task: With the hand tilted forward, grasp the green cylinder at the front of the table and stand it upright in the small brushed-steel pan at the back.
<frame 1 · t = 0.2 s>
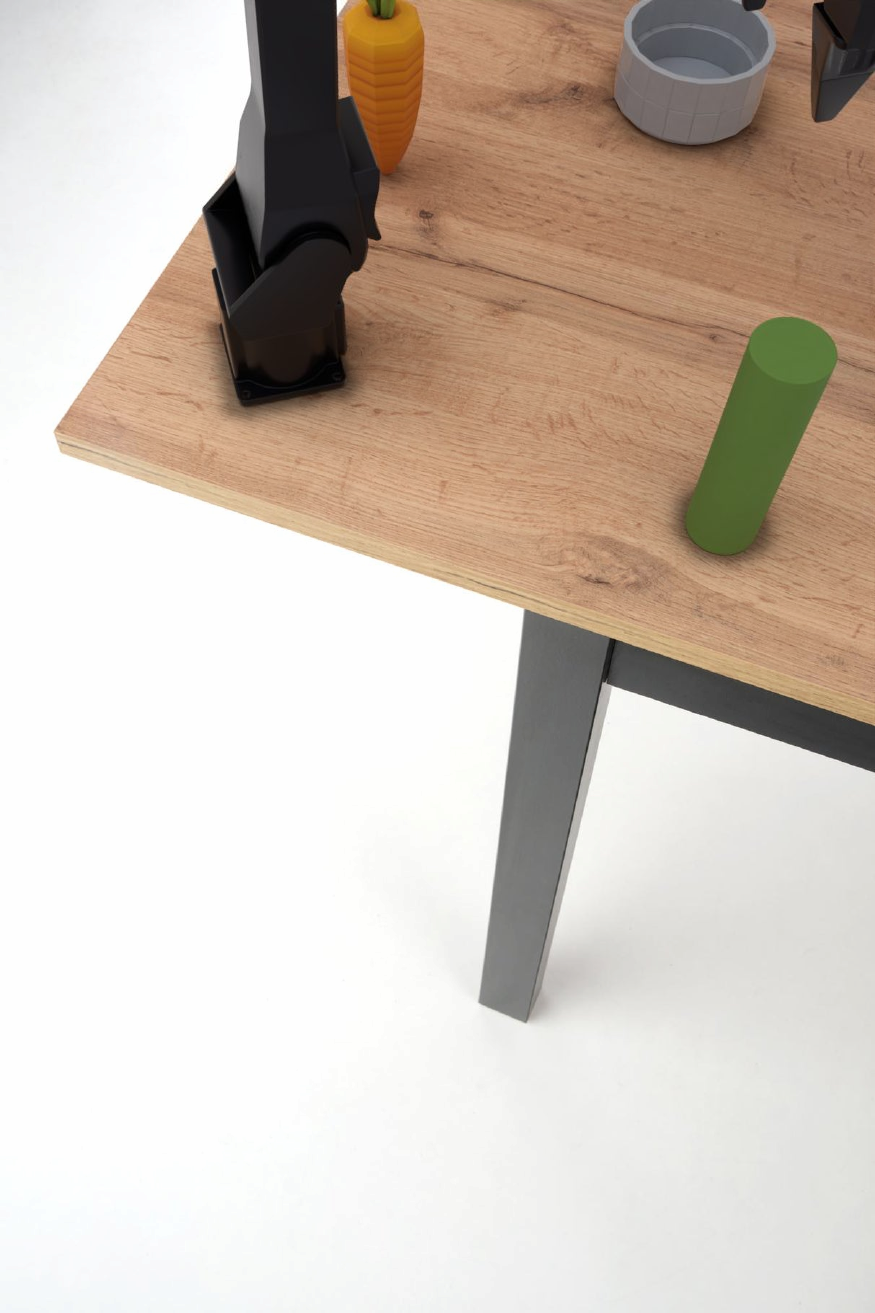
hand: (786, 62, 61), 15 cm above the table, tool pointing down, fingers open, 9 cm apart
green cylinder: (720, 524, 65), on the table
carrot: (386, 175, 78), on the table
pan: (684, 100, 82), on the table
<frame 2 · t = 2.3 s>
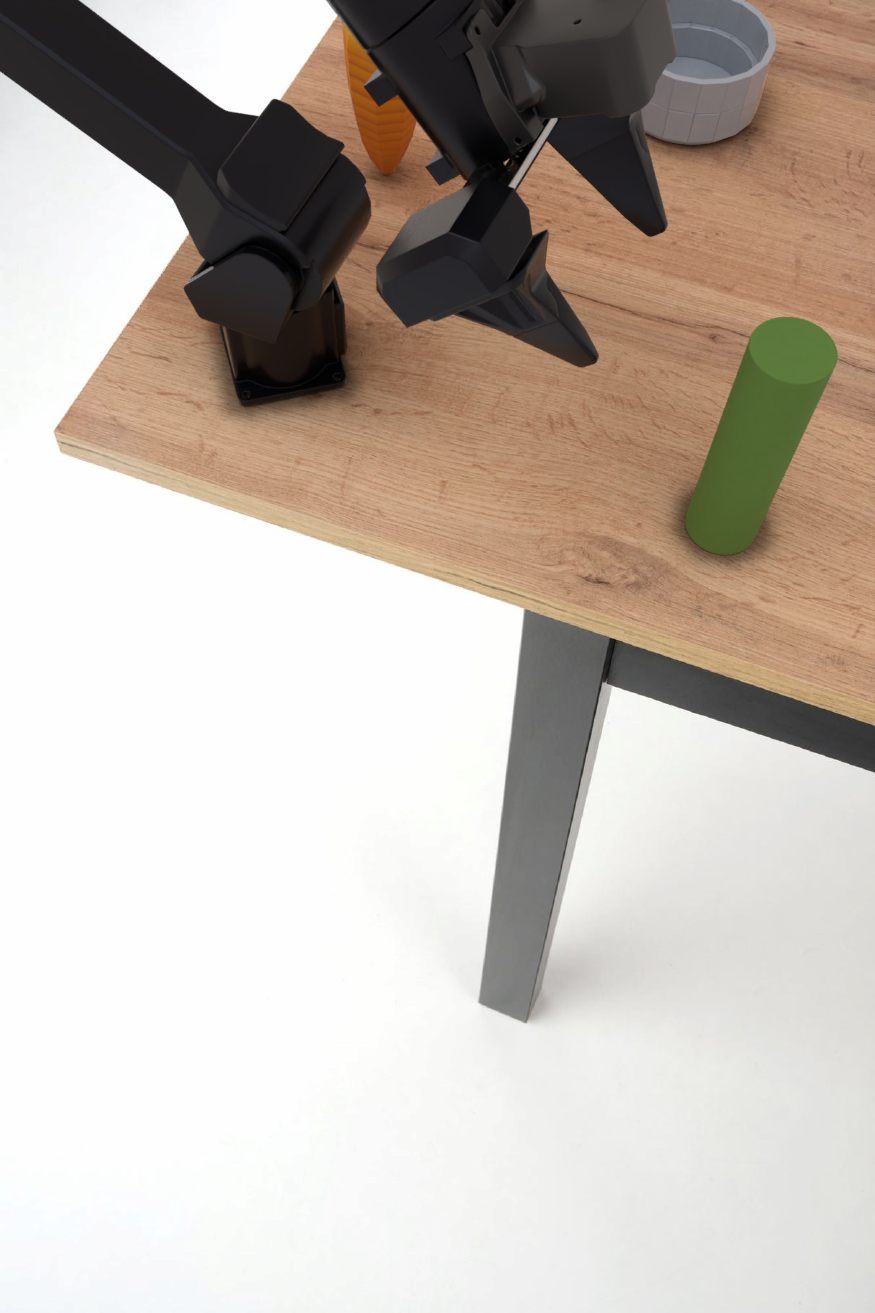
hand: (626, 295, 55), 13 cm above the table, tool tilted 45°, fingers open, 9 cm apart
nothing on the table moved.
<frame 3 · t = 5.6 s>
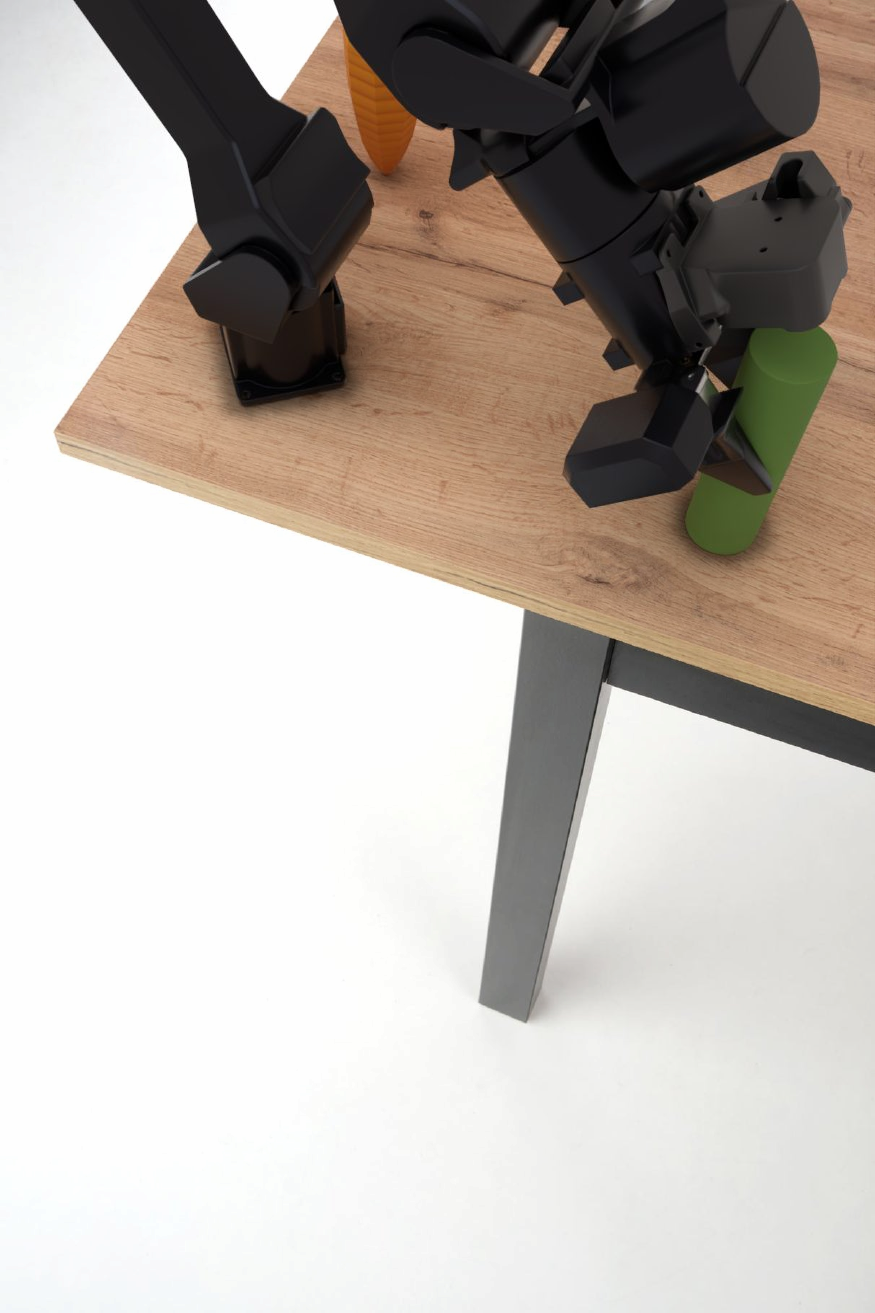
hand: (777, 461, 59), 7 cm above the table, tool tilted 45°, fingers closed on green cylinder, 4 cm apart
green cylinder: (720, 524, 65), on the table, touching gripper
everything else where it was.
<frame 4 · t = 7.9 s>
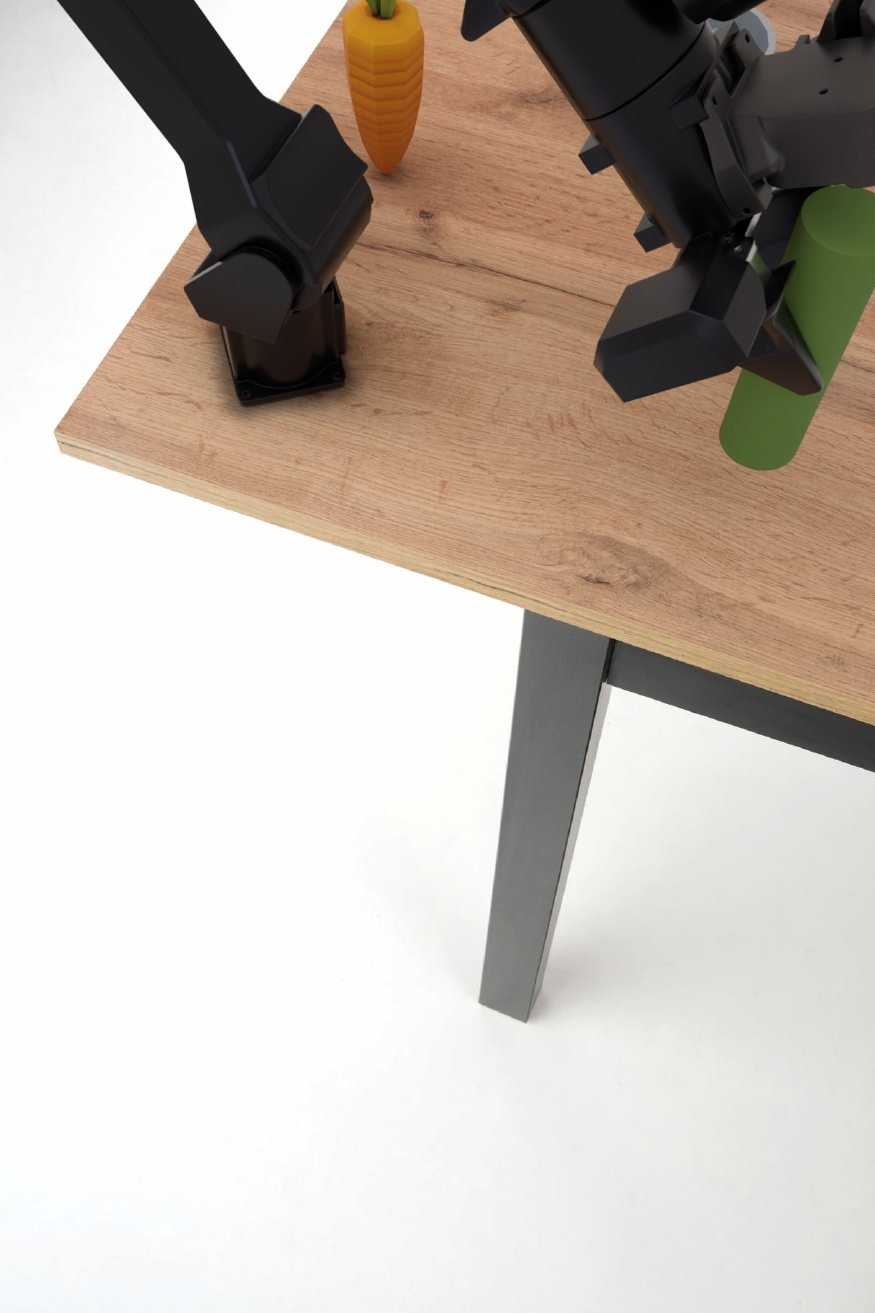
hand: (826, 358, 53), 14 cm above the table, tool tilted 45°, fingers closed on green cylinder, 4 cm apart
green cylinder: (758, 439, 59), point 7 cm above the table, touching gripper
everything else where it was.
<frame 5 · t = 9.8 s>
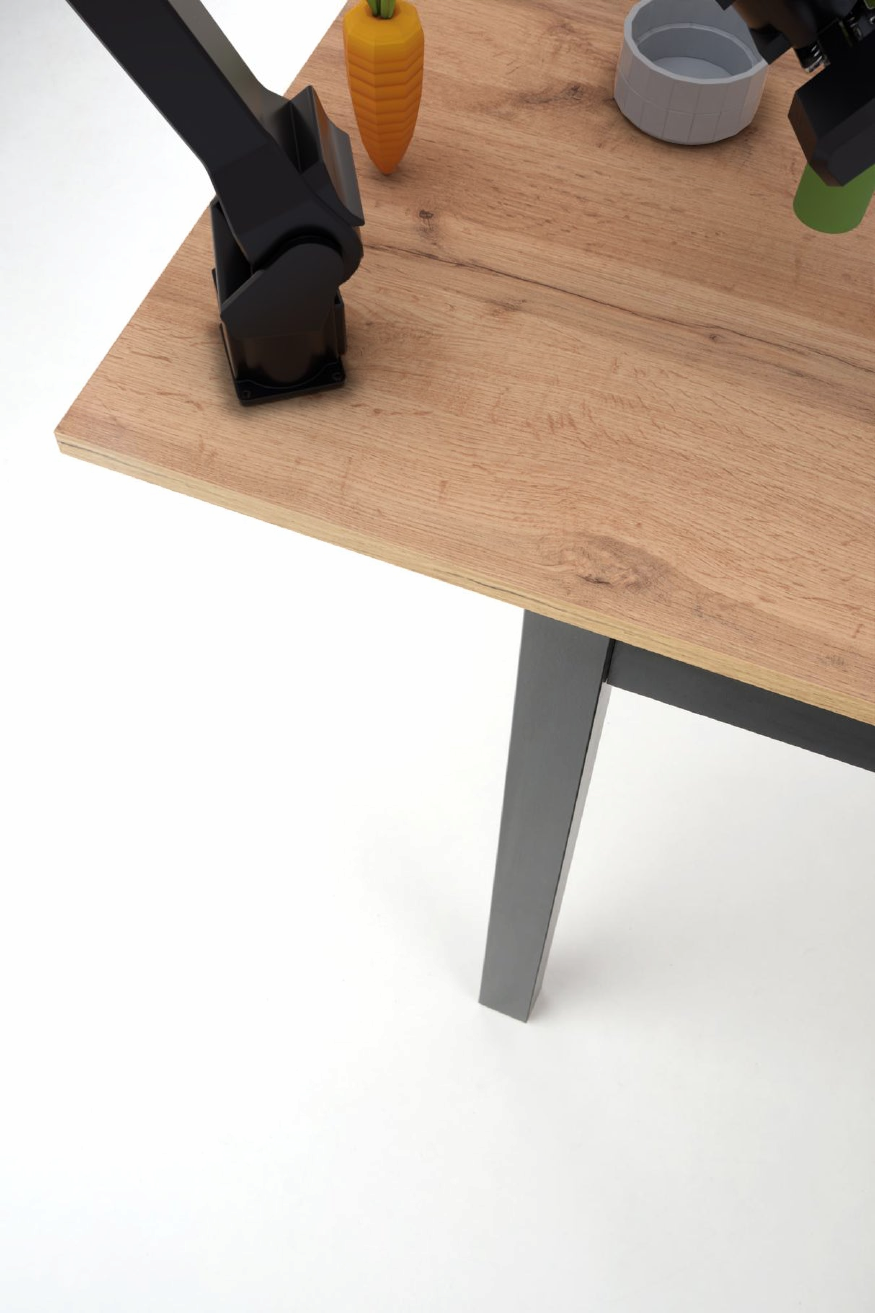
green cylinder: (827, 209, 66), point 7 cm above the table, touching gripper
everything else where it was.
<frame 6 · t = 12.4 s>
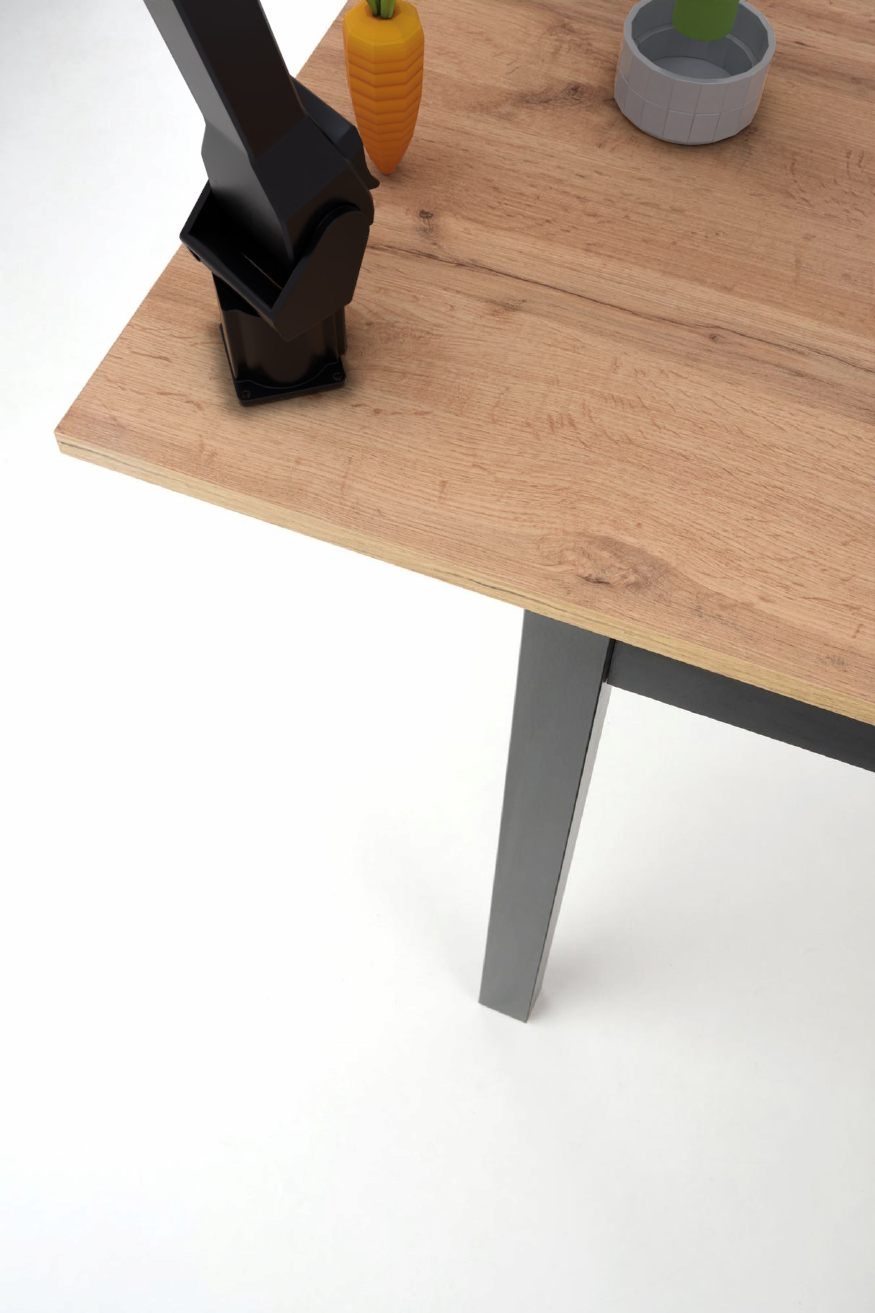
green cylinder: (702, 21, 77), point 6 cm above the table, touching gripper
everything else where it was.
when the fingers open (7 cm above the table, at t = 14.3 s): green cylinder stays where it is, resting on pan.
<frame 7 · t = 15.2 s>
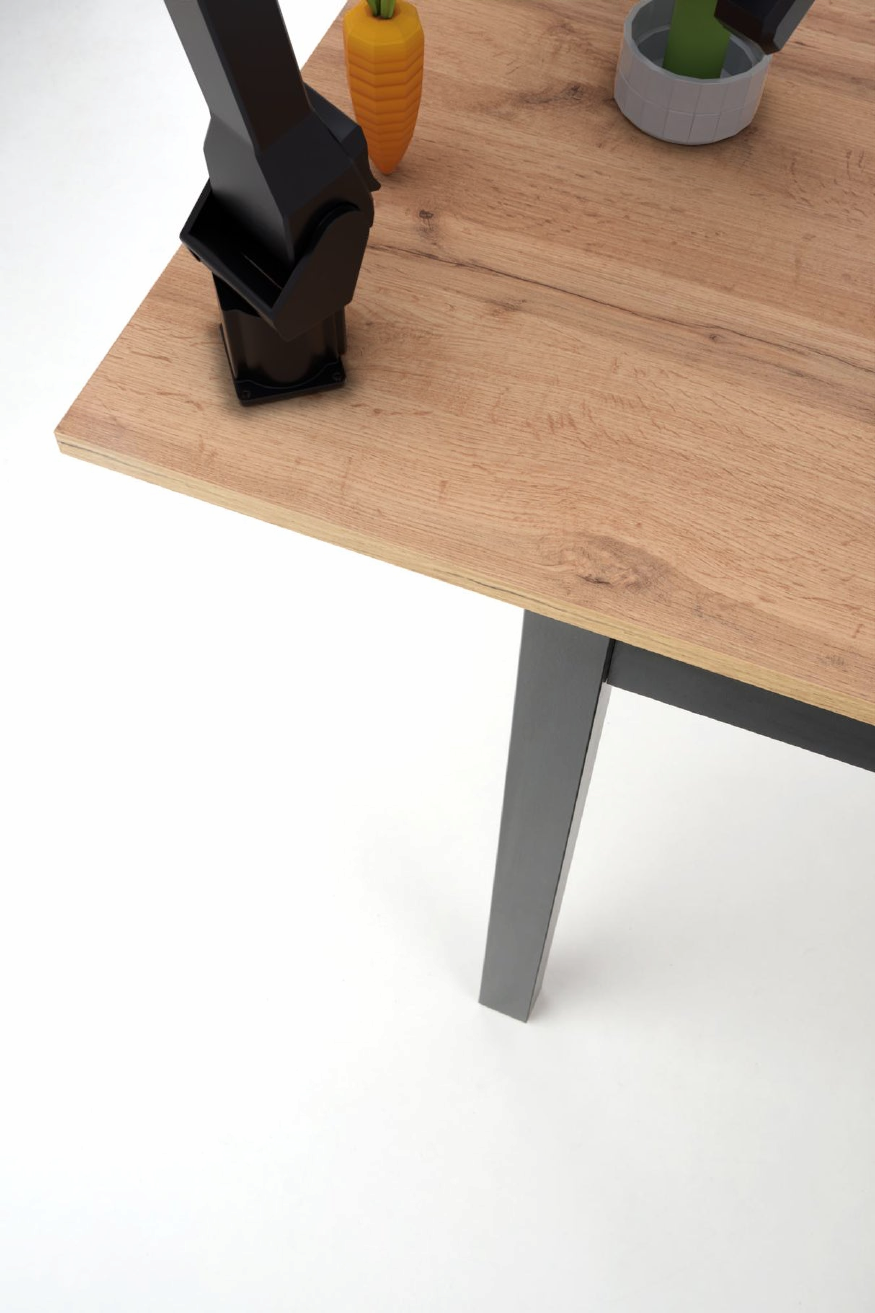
green cylinder: (685, 94, 81), resting on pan
everything else where it was.
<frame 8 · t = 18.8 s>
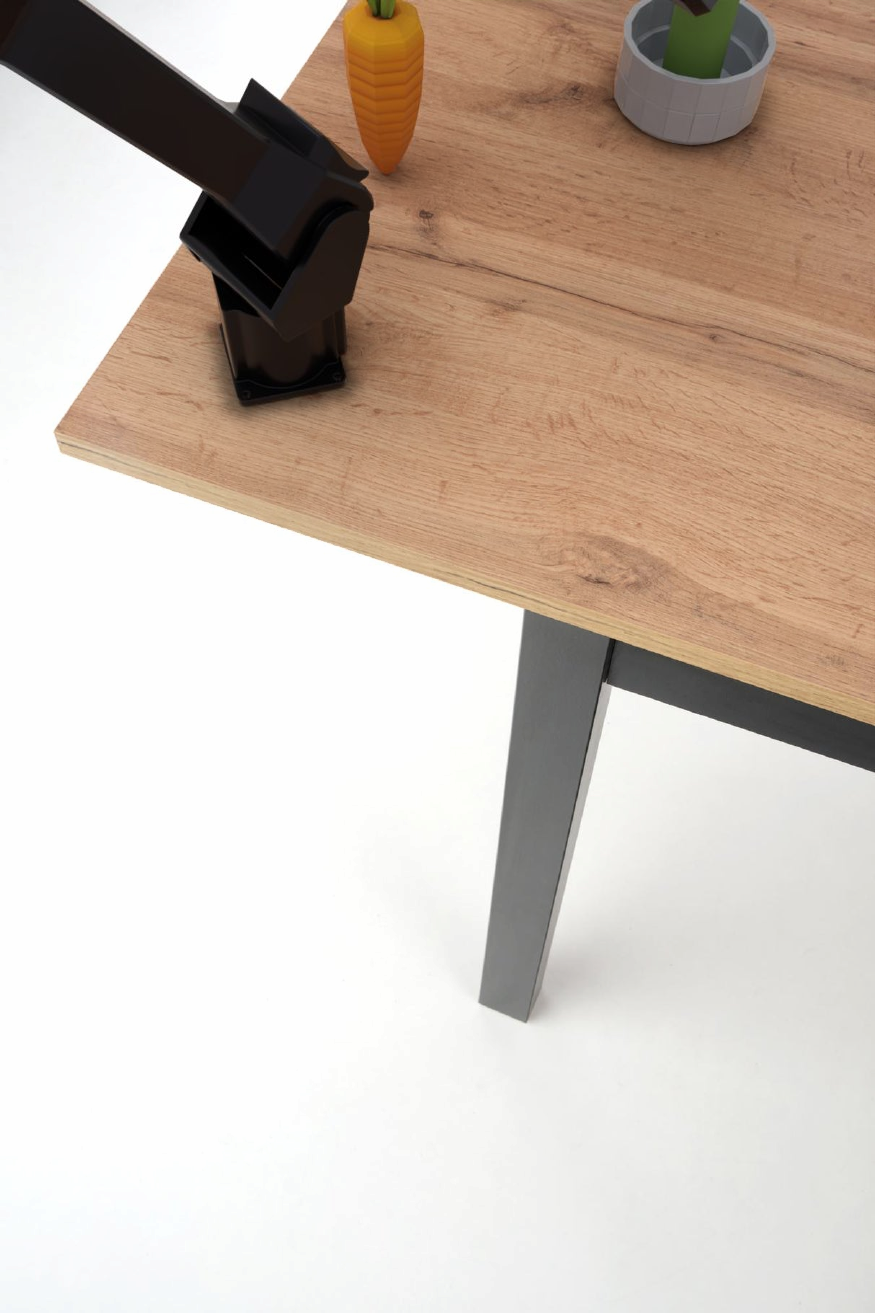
nothing on the table moved.
at the end: green cylinder 0.0 cm off-centre in the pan, point 0.5 cm above the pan's base; green cylinder tilted 0°; the gripper is holding nothing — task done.
